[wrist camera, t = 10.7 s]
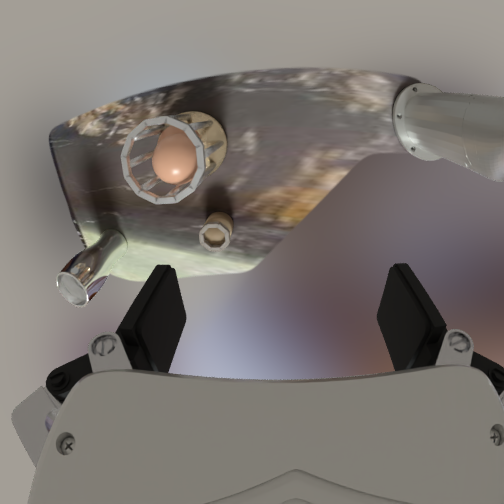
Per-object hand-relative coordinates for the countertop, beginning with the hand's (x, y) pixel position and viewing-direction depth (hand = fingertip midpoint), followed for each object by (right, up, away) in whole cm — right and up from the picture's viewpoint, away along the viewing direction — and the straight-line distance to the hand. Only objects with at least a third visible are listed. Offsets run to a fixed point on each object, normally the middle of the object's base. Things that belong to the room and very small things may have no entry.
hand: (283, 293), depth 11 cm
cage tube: (-10, +17, +26) cm, 33 cm away
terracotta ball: (-10, +12, +18) cm, 24 cm away
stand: (-6, +6, +32) cm, 33 cm away
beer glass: (-27, +3, +35) cm, 45 cm away
